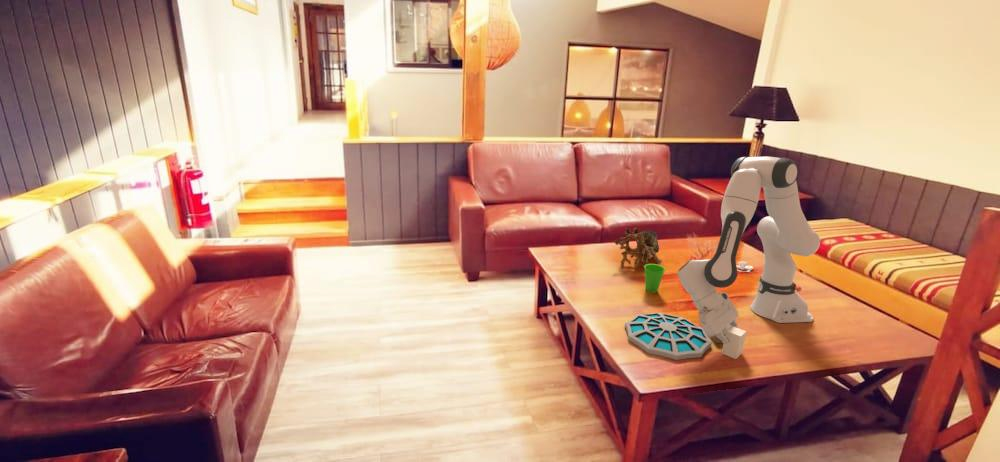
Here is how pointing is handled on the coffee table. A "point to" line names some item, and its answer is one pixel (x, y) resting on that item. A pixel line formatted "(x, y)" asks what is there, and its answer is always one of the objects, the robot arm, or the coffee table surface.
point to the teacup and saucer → (744, 266)
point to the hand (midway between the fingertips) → (732, 338)
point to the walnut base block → (717, 340)
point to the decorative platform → (667, 336)
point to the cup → (653, 276)
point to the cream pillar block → (734, 342)
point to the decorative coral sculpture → (640, 246)
